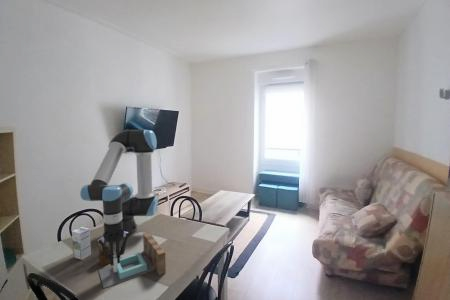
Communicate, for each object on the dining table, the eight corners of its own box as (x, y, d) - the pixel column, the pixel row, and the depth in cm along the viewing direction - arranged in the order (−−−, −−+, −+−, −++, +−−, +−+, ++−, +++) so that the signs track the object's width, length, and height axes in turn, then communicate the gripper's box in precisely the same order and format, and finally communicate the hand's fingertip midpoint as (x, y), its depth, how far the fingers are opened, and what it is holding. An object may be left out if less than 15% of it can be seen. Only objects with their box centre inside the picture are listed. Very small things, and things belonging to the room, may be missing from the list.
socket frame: (114, 266, 109) (114, 260, 109) (139, 258, 116) (139, 252, 115) (120, 279, 100) (119, 273, 99) (146, 270, 107) (146, 264, 106)
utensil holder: (109, 265, 111) (108, 241, 109) (96, 265, 110) (95, 242, 109) (114, 258, 116) (113, 235, 115) (101, 258, 116) (100, 236, 115)
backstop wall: (143, 251, 123) (143, 233, 122) (149, 249, 125) (148, 232, 124) (159, 275, 104) (158, 254, 103) (165, 272, 106) (165, 252, 104)
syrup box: (91, 254, 119) (90, 227, 118) (81, 260, 114) (79, 233, 112) (83, 252, 121) (82, 226, 120) (73, 258, 116) (71, 231, 114)
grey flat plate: (98, 270, 106) (98, 270, 106) (146, 255, 119) (146, 254, 119) (103, 288, 95) (103, 287, 95) (155, 269, 108) (155, 268, 108)
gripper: (97, 228, 94) (100, 280, 97) (130, 220, 102) (132, 269, 105) (95, 221, 100) (98, 271, 103) (126, 215, 108) (128, 261, 111)
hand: (115, 270), depth 104 cm, fingers closed
